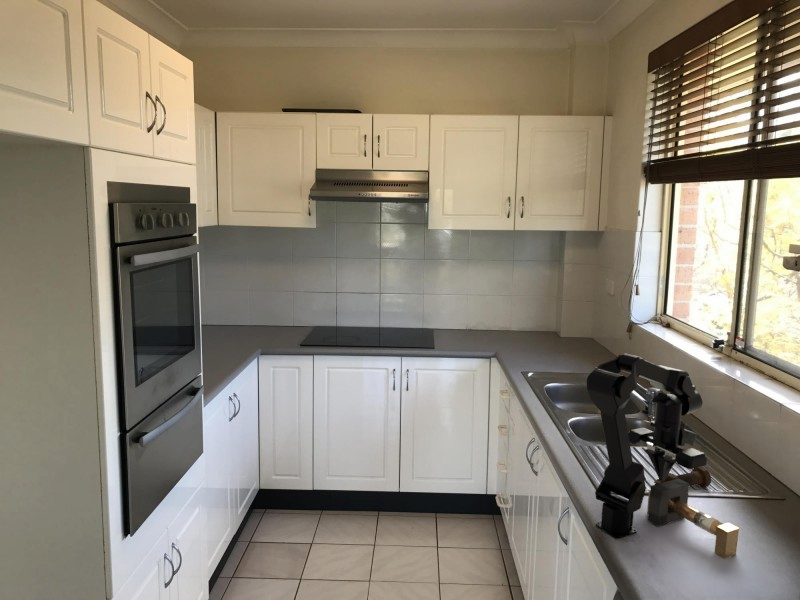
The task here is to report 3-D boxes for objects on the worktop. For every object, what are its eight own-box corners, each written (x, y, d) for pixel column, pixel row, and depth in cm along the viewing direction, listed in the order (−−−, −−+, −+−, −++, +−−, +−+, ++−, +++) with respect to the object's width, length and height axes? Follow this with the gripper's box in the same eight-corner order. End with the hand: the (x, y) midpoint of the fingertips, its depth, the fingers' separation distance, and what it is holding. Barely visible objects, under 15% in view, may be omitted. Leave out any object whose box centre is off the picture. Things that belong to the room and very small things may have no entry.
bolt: (654, 498, 157) (700, 488, 161) (667, 497, 152) (714, 487, 157) (647, 475, 158) (693, 466, 163) (660, 473, 154) (706, 464, 159)
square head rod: (735, 554, 128) (739, 527, 127) (724, 558, 127) (727, 531, 126) (657, 510, 146) (659, 486, 145) (646, 513, 145) (649, 489, 144)
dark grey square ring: (685, 517, 143) (689, 483, 141) (658, 526, 139) (661, 491, 137) (675, 512, 145) (678, 478, 144) (647, 520, 141) (650, 485, 140)
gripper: (725, 427, 140) (719, 490, 142) (659, 402, 156) (654, 459, 159) (692, 434, 135) (686, 500, 137) (627, 408, 151) (623, 467, 154)
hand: (662, 480), depth 147 cm, fingers closed
